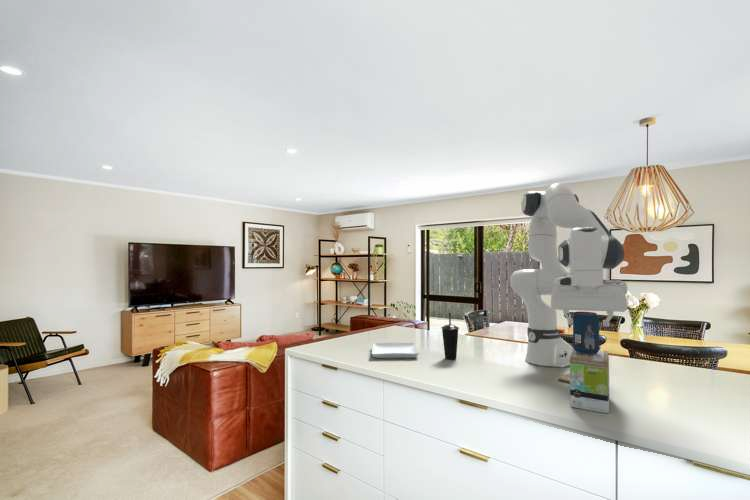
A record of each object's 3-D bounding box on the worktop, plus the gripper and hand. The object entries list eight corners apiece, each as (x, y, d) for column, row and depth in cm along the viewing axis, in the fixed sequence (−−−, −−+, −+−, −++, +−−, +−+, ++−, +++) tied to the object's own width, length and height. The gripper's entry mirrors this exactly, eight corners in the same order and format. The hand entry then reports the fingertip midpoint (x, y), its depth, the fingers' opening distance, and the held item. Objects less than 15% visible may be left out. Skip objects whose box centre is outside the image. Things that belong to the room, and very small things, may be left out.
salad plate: (419, 360, 166) (419, 352, 166) (371, 360, 166) (371, 353, 166) (415, 349, 187) (415, 342, 187) (372, 349, 187) (372, 342, 188)
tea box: (610, 414, 105) (608, 360, 105) (569, 407, 110) (568, 356, 110) (610, 397, 117) (608, 349, 118) (573, 392, 123) (572, 346, 123)
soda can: (584, 349, 119) (584, 310, 119) (604, 354, 112) (604, 313, 113) (567, 350, 117) (567, 311, 117) (587, 356, 110) (587, 314, 110)
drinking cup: (462, 357, 168) (461, 312, 169) (455, 361, 162) (454, 314, 162) (445, 355, 172) (444, 311, 173) (439, 359, 166) (438, 313, 166)
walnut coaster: (569, 374, 141) (569, 372, 141) (599, 380, 133) (599, 378, 133) (558, 380, 134) (558, 378, 134) (588, 387, 127) (588, 385, 127)
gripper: (624, 279, 114) (626, 325, 113) (549, 279, 122) (551, 322, 121) (629, 280, 108) (631, 329, 107) (550, 280, 116) (551, 325, 116)
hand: (588, 325), depth 114 cm, fingers open, 8 cm apart
